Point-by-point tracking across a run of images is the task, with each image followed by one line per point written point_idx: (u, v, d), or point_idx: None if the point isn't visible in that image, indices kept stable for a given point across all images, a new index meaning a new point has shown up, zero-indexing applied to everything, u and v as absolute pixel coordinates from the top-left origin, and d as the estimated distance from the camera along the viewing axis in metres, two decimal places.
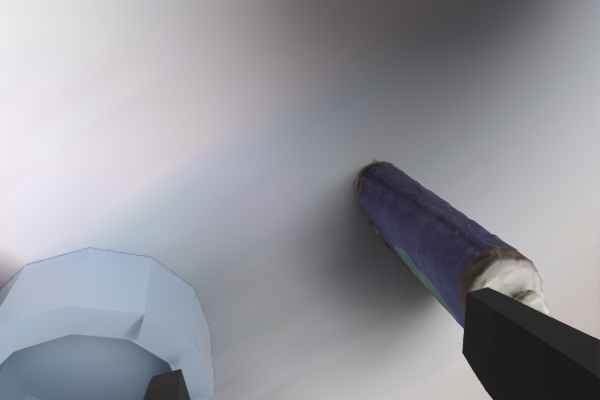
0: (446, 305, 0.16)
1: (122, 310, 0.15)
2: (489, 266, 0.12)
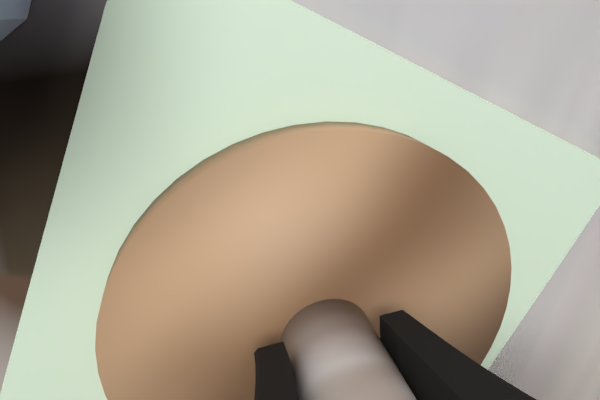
0: None
1: None
2: None
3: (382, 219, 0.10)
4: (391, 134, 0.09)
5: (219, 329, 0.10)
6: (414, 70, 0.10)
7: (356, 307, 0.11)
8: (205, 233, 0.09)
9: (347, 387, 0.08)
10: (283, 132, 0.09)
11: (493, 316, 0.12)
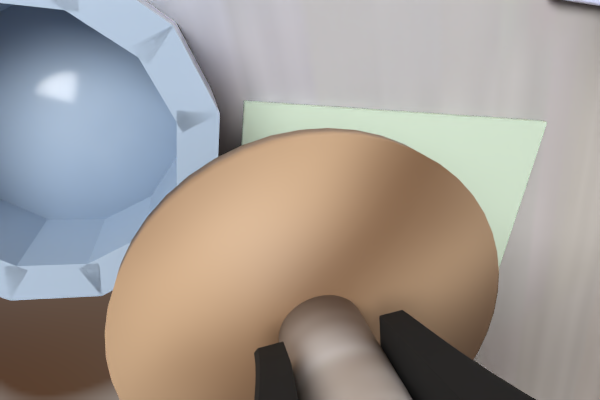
0: None
1: None
2: None
3: (362, 216, 0.11)
4: (361, 136, 0.10)
5: (219, 331, 0.11)
6: (396, 115, 0.18)
7: (347, 301, 0.11)
8: (195, 243, 0.10)
9: (334, 376, 0.09)
10: (259, 144, 0.10)
11: (486, 300, 0.13)
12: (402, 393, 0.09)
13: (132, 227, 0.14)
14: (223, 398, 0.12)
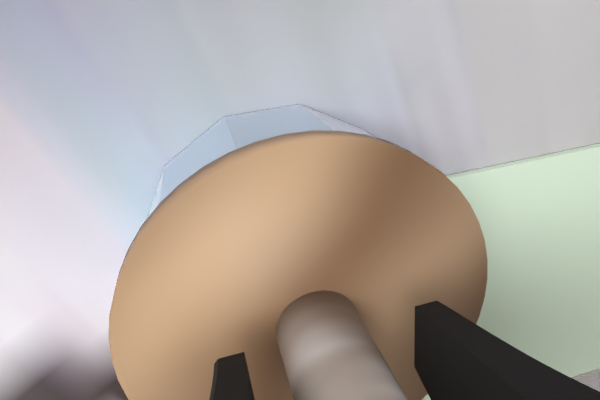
0: None
1: None
2: None
3: (349, 214, 0.11)
4: (343, 138, 0.10)
5: (218, 330, 0.11)
6: (566, 156, 0.18)
7: (339, 296, 0.12)
8: (189, 249, 0.10)
9: (326, 370, 0.09)
10: (244, 151, 0.10)
11: (476, 287, 0.13)
12: (391, 384, 0.09)
13: None
14: None
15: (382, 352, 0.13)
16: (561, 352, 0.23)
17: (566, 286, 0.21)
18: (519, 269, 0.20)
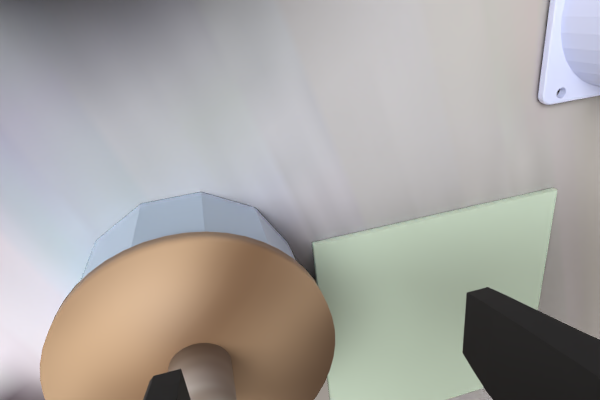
0: None
1: None
2: None
3: (215, 291, 0.15)
4: (203, 241, 0.15)
5: (123, 373, 0.16)
6: (430, 220, 0.22)
7: (214, 347, 0.16)
8: (95, 319, 0.15)
9: None
10: (133, 251, 0.14)
11: (327, 336, 0.18)
12: None
13: None
14: None
15: (257, 385, 0.18)
16: (451, 373, 0.27)
17: (447, 320, 0.25)
18: (402, 308, 0.24)
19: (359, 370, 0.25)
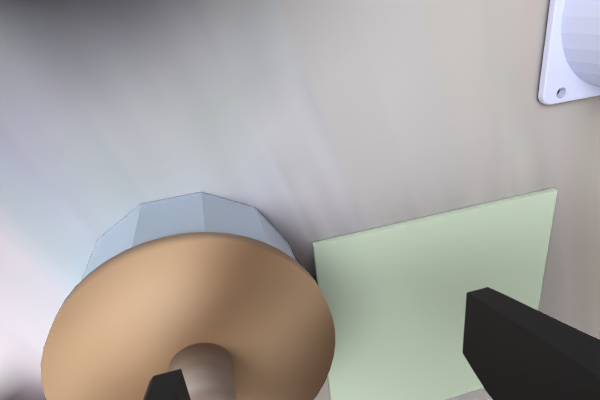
0: None
1: None
2: None
3: (215, 291, 0.15)
4: (203, 242, 0.15)
5: (124, 372, 0.16)
6: (430, 220, 0.22)
7: (214, 347, 0.16)
8: (96, 319, 0.15)
9: None
10: (133, 251, 0.14)
11: (327, 336, 0.18)
12: None
13: None
14: None
15: (257, 384, 0.18)
16: (452, 373, 0.27)
17: (447, 320, 0.25)
18: (402, 308, 0.24)
19: (359, 370, 0.25)
